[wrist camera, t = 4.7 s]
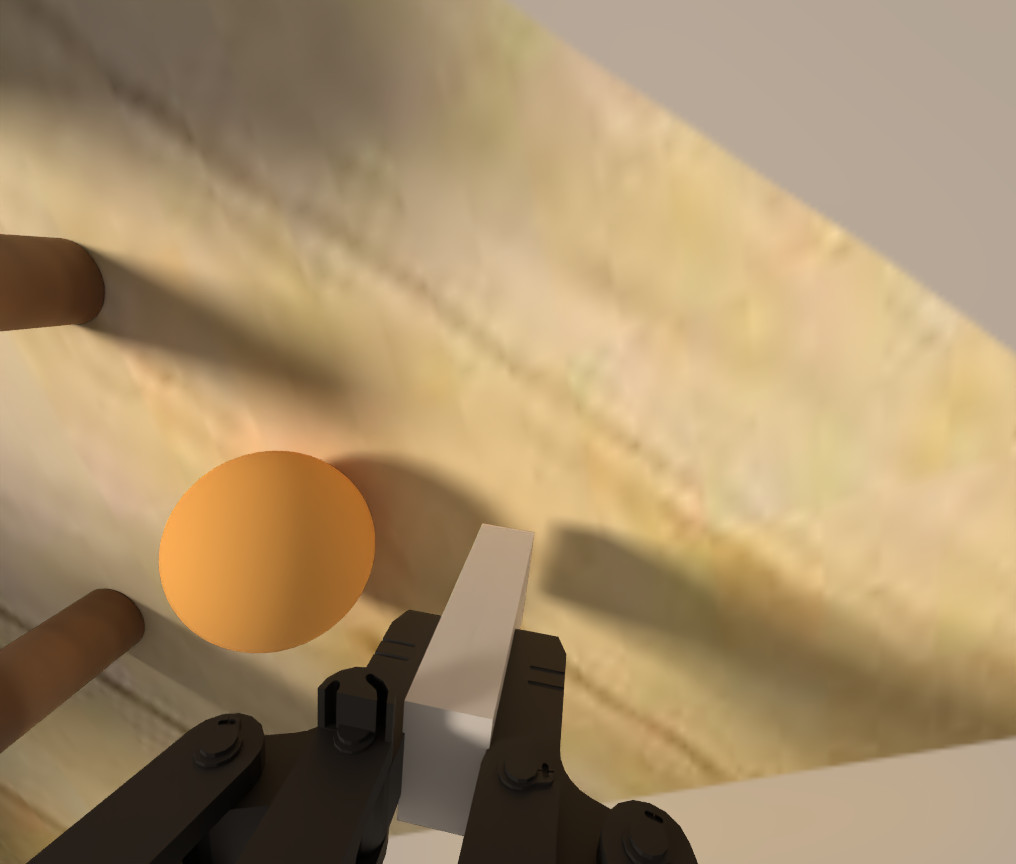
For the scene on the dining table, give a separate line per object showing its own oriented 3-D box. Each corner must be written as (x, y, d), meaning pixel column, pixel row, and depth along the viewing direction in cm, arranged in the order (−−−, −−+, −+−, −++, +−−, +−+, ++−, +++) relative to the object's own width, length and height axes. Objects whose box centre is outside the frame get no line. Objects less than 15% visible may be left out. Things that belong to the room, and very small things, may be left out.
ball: (350, 706, 13) (385, 581, 19) (355, 511, 12) (392, 434, 17) (120, 697, 13) (222, 572, 18) (93, 492, 11) (214, 418, 16)
